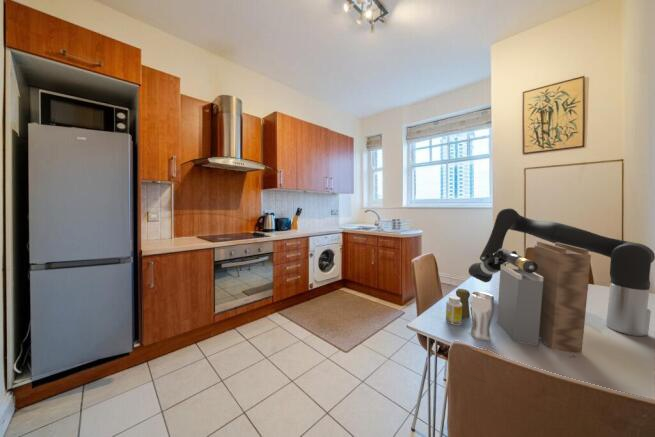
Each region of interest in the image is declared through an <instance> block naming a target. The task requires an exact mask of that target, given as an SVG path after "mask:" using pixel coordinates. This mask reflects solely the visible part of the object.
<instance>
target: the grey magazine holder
mask: <svg viewBox="0 0 655 437" xmlns="http://www.w3.org/2000/svg"><path fill="white" fill-rule="evenodd" d="M517 268H518V267H517ZM542 290H543V276H541V275H539V274H537V273H535V272H534V273H528V272H526V271H524V270H522V269H520V268H518V269H515V268H510V267H508V266H507V265H506V266H505V265H501V268H500V271H499V288H498V298H497V299H498V302H497V313H496V314H497V317H496V323H497V324H498V325H499V326H500V328H501V329H502V330H503V331H504V332H505V333H506V334H507V335H508V337H509V338H510V339H511V341H513V342H514V343H521V344H529V345H536V346H539V340H540V338H539V328H540V315H541V302H542Z"/></svg>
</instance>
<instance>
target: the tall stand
mask: <svg viewBox="0 0 655 437" xmlns="http://www.w3.org/2000/svg"><path fill="white" fill-rule="evenodd" d="M589 252H590V251H589V250H587V249H583V248H579V247H575V246H571V245H566V244H562V243H558V242H555V243H554V244H550V243H547V242H543V241H536V244H535V245H534V250H533V260H532V261H533V262H535V263H536V264H537V266H538V268H537V270H536V271H535V273H537V274H539V275H541V276H543V290H542V302H541V315H540V328H539V340H541V341H542V342H543V343H544V344H545V345H546V346H547V347H549V348H550V349H551V350H554V351H560V352H561V351H562V352H569V353H575V354H576V353H577V354H582V353H583V344H584V335H585V334H584V332H585V324H586V323H585V321H586V311H587V301H588V293H589V292H588V290H589V279H590V271H591V270H590V269H591V259H592V254H589Z"/></svg>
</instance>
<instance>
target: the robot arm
mask: <svg viewBox="0 0 655 437" xmlns="http://www.w3.org/2000/svg"><path fill="white" fill-rule="evenodd" d="M509 230H511V231H514V232H520V233H524V234H527V235H530V236H533V237H534V238H538V239H541V240H543V241H547V242H549V243H552V244H555V242H558V243H562V244H566V245H571V246H575V247H579V248H583V249H587V250H589V251H588V252H591V253H595V254H599V255H602V256H604V257H605V256H606V257H608V258H610V262H609V263H610V264H609V265H610V266H609V277H610V284H609V295H608V303H607V313H606V324H605V326H606V327H608V328H609V329H611V330H613V331H616V332H619V333H623V334H626V335H629V336H634V337H644V336H649V330H650V321H651V313H652V311H651V310H650V309H648V308H649V300H650V298H649V296H650V288H651V282H650V279H651V278H650V274H651V266H652V263H653V262H654V261H655V252H654V251H653V250H652V248H650V247H649V246H646V245H645V244H642V243H640V242H639V243H638V242H633V241H628V240H621V239H618V238H617V239H616V238H613V237H608V236H605V235H604V236H603V235H600V234H599V233H594V232H591V231H589V230H585V229H582V228H579V227H575V226H572V225H568V224H564V223H560V222H554V221H542V220H534V219H530V218H528V217H525V216H522V215H520V214H519V213H518V211H516V210H515V209H513V208H511V207H507V208H503V209H500V211H499V212H498V214H497V215H496V219H495V221H494V225H493V228H492V230H491V233H490V236H489V238H488V241H487V243H486V245H485V246H484V248H483V250H482V252H481V254H480V256H479V260H480V261H481V262H474V263H473V264H471V265H470V266H469V267H468V274H469V275H470V276H471V277H472V278H475V279H477V280H479V281H481V282H483V283H489V282H491V280H492V278H493V275H495V274H497V273H500V268H501V265H505V266H507V265H508V264H510V263H509V262H507V261H505V260H503V259H501V258H500V257H502V256H503V250H500V251H498V250H499V249H503V244H504V241H505V238H506V235H507V233H508V231H509ZM497 251H498V252H497ZM511 252H512V253H514V254H517V255H518V252H517V251H516V250H512V251H511Z"/></svg>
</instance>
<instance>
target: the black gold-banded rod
mask: <svg viewBox="0 0 655 437" xmlns="http://www.w3.org/2000/svg"><path fill="white" fill-rule="evenodd" d="M500 250H503V256H502V257H500V258H501V259H503V260H505V261H507V262H509V264H511V265H513V266H515V267H516V268H520V269H522V270H524V271H526V272H528V273H534V272H535V271H536V270H537V268H538V266H537V264H536V263H535V262H533V260H532V259H531V260H530V259H528V258H526V257H523V256H521V255H519V254H518V253H517V254H514V253H512V252H513V251H509V250H508V249H505V248H502V249H499V250H498V251H500ZM498 251H497V252H498Z"/></svg>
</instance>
